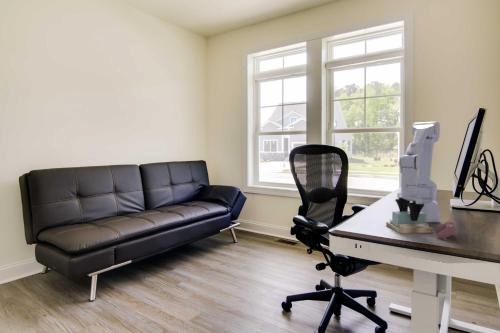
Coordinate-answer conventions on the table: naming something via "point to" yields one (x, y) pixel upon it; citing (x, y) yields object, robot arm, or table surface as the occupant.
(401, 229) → the display stand
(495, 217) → the table surface
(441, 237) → the pink knobbed toy
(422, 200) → the robot arm
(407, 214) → the light blue rectangular block
